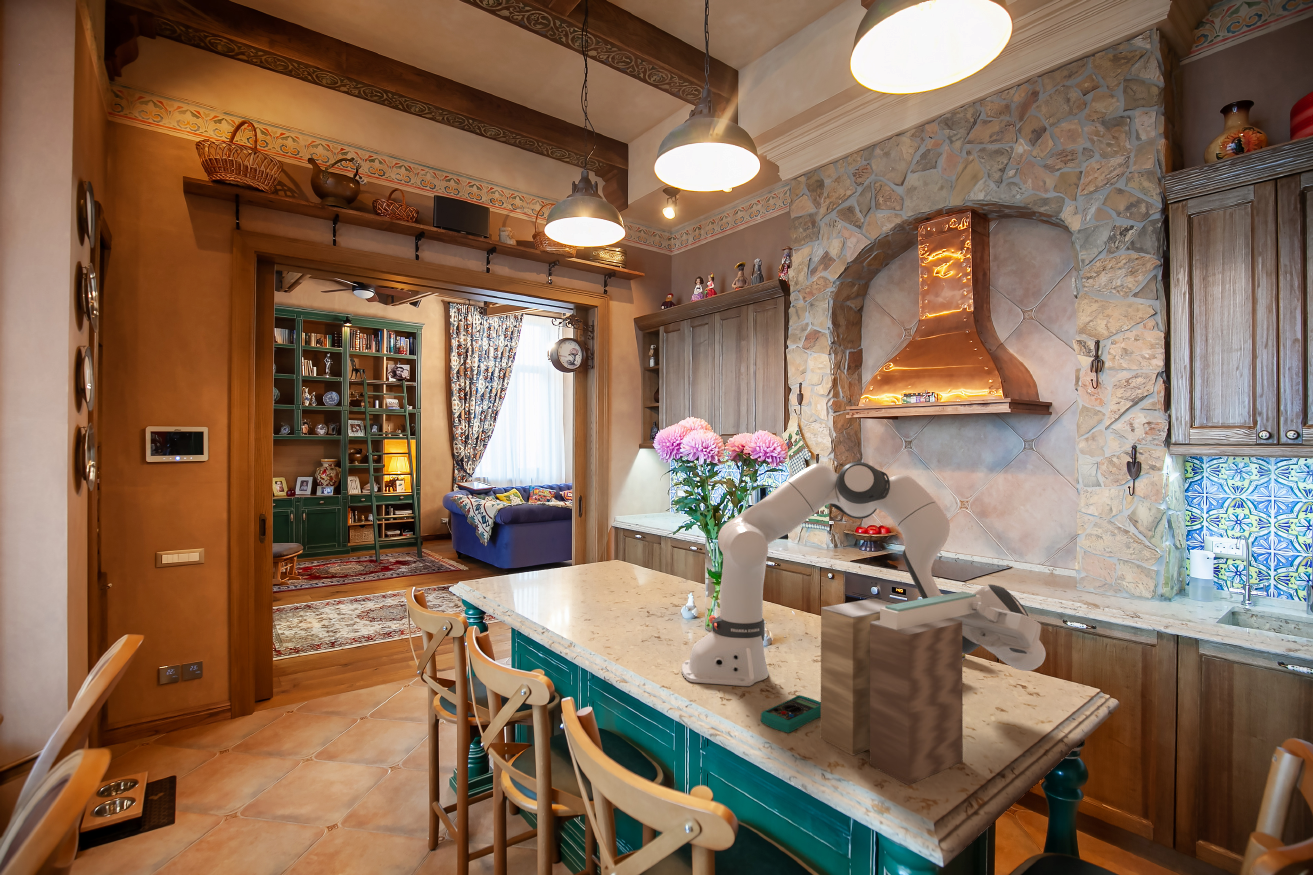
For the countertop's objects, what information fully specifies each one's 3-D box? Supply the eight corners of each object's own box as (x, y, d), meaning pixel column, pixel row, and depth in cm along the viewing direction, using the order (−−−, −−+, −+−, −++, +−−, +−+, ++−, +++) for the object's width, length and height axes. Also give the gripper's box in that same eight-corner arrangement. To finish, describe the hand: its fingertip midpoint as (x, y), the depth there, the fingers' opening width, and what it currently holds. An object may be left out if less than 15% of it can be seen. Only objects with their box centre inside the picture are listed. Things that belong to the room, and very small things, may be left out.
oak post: (873, 720, 130) (873, 598, 130) (906, 735, 123) (906, 606, 124) (820, 737, 121) (821, 607, 122) (852, 755, 115) (852, 616, 115)
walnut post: (924, 743, 119) (923, 610, 120) (962, 761, 113) (962, 620, 113) (869, 764, 111) (870, 621, 112) (908, 785, 104) (907, 633, 105)
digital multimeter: (758, 724, 128) (758, 710, 128) (799, 705, 138) (799, 692, 138) (787, 736, 123) (787, 721, 123) (827, 715, 133) (827, 702, 133)
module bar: (964, 607, 123) (963, 590, 124) (980, 611, 120) (980, 593, 121) (880, 624, 110) (880, 606, 110) (896, 629, 107) (896, 610, 107)
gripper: (952, 603, 136) (918, 577, 130) (1050, 626, 118) (1016, 597, 112) (943, 630, 134) (909, 605, 128) (1041, 657, 116) (1007, 629, 110)
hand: (960, 601), depth 120 cm, fingers open, 5 cm apart
